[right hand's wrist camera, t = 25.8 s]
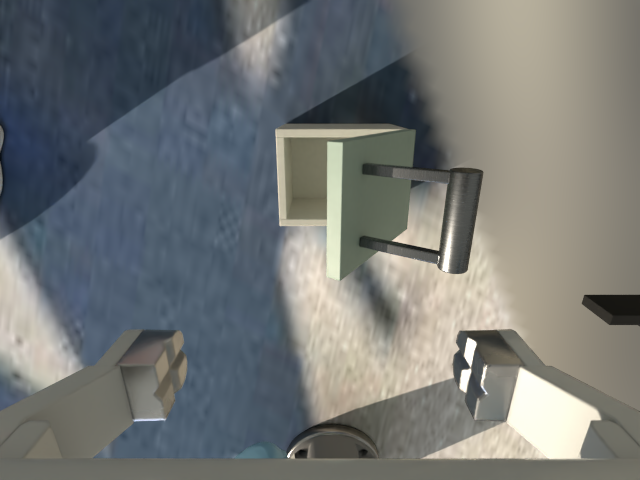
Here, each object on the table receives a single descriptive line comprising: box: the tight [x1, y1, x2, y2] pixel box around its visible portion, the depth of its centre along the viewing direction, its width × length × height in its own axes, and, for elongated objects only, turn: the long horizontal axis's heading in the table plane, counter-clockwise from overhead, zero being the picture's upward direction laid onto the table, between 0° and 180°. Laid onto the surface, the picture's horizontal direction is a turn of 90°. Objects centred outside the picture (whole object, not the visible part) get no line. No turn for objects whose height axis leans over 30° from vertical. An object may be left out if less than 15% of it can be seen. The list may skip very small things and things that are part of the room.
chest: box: [276, 124, 406, 226], centre depth 38 cm, size 12×9×9 cm
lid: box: [327, 129, 483, 281], centre depth 26 cm, size 13×9×8 cm
